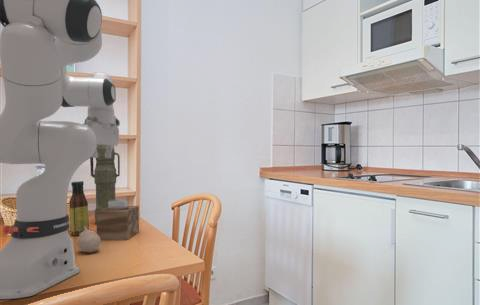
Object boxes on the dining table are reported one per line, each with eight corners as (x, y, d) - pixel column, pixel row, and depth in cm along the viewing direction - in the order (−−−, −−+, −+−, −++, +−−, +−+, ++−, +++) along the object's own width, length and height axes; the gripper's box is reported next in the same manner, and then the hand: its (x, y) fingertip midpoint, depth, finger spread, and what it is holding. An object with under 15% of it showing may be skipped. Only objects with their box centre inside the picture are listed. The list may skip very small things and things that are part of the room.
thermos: (91, 221, 143) (90, 142, 143) (120, 219, 148) (119, 142, 147) (90, 226, 135) (89, 141, 135) (120, 223, 139) (119, 141, 139)
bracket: (124, 223, 118) (124, 200, 118) (108, 222, 118) (108, 200, 118) (127, 221, 120) (127, 199, 120) (111, 221, 121) (111, 199, 121)
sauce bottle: (92, 232, 125) (91, 180, 125) (83, 236, 119) (82, 182, 119) (76, 231, 126) (75, 180, 126) (66, 236, 120) (65, 182, 120)
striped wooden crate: (127, 239, 114) (127, 211, 114) (96, 239, 114) (96, 211, 114) (139, 232, 125) (138, 205, 125) (111, 231, 125) (110, 205, 125)
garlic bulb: (101, 247, 105) (100, 223, 105) (100, 253, 99) (100, 227, 99) (78, 250, 102) (78, 225, 102) (76, 256, 96) (75, 229, 96)
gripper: (94, 115, 107) (95, 157, 106) (121, 122, 127) (122, 157, 127) (76, 115, 107) (76, 158, 107) (106, 122, 127) (106, 158, 127)
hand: (101, 157), depth 117 cm, fingers open, 8 cm apart
